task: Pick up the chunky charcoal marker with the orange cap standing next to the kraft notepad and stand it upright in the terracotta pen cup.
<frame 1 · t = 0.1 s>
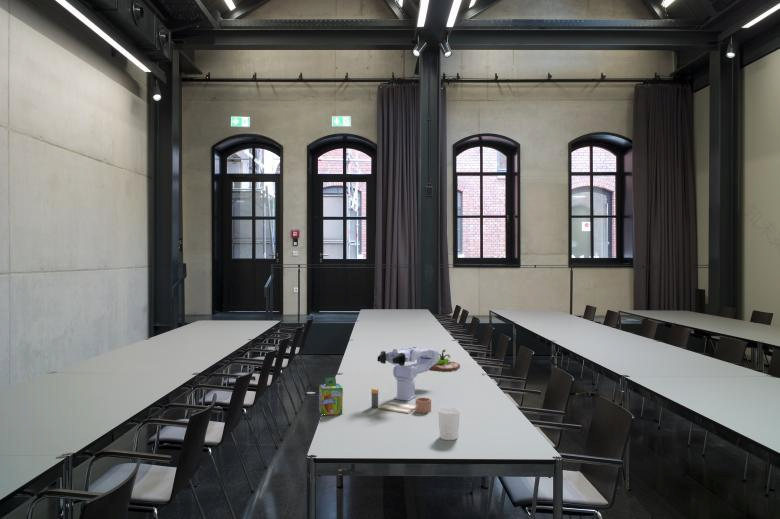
hand: (385, 359, 242), 22 cm above the table, tool horizontal, fingers open, 7 cm apart
white cup: (448, 438, 204), on the table
marker: (374, 407, 244), on the table
notepad: (398, 407, 243), on the table
plant: (443, 368, 330), on the table
chalk box: (330, 412, 236), on the table
pen cup: (423, 410, 238), on the table
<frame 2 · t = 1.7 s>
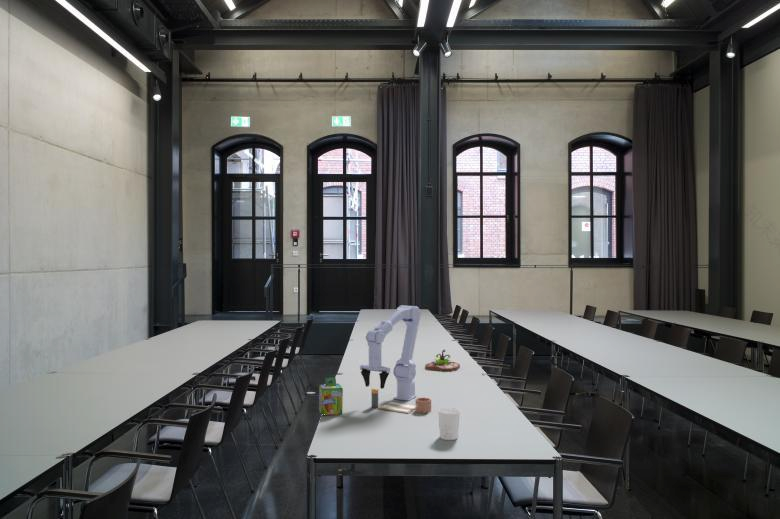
hand: (374, 387, 244), 9 cm above the table, tool pointing down, fingers open, 7 cm apart
nothing on the table moved.
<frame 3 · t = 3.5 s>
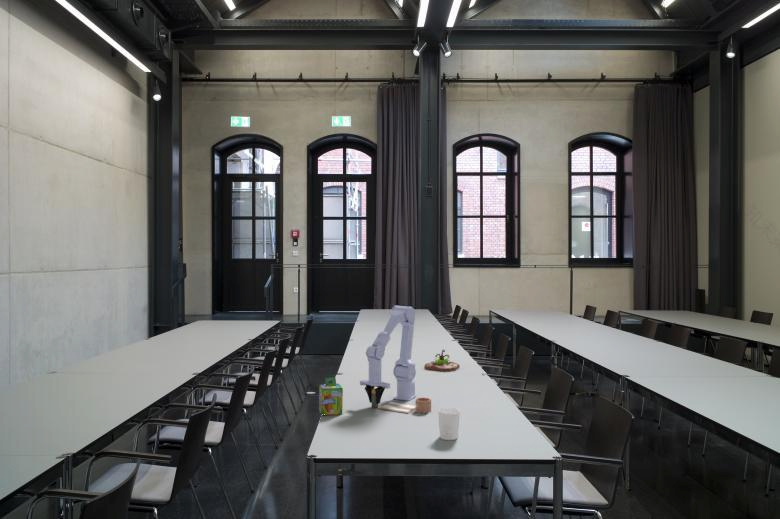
hand: (374, 402, 244), 2 cm above the table, tool pointing down, fingers closed on marker, 3 cm apart
marker: (374, 407, 244), on the table, touching gripper
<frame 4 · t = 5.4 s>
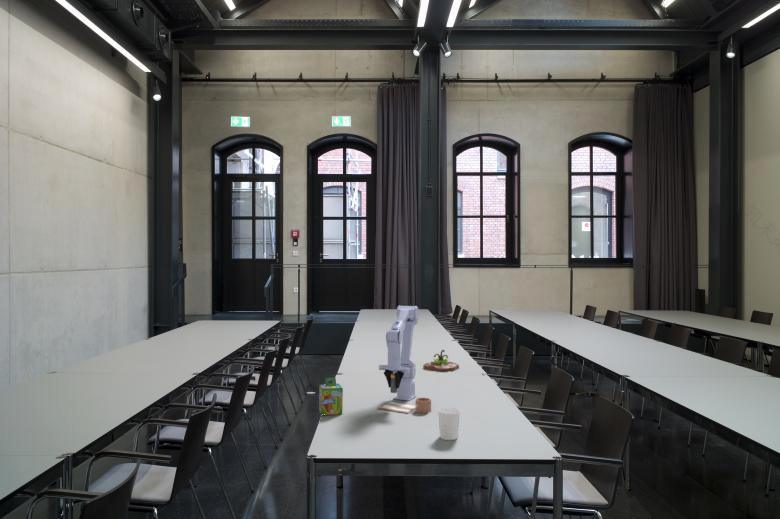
hand: (394, 387, 242), 9 cm above the table, tool pointing down, fingers closed on marker, 3 cm apart
marker: (393, 392, 242), point 7 cm above the table, touching gripper
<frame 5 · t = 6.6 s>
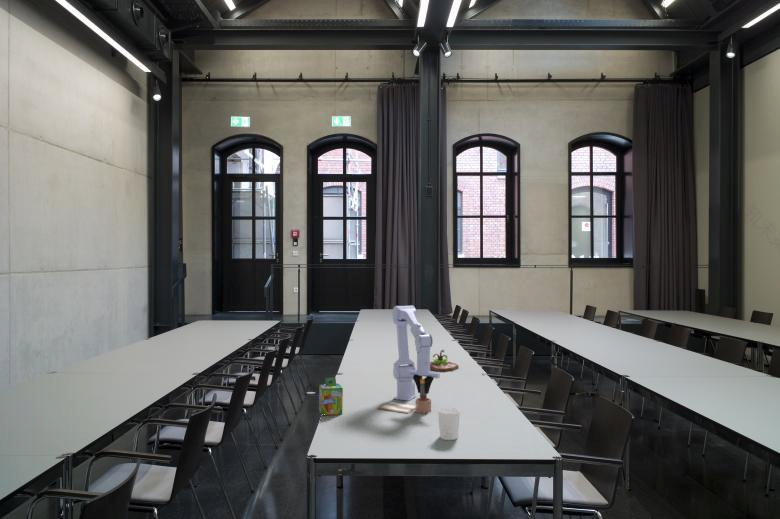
hand: (423, 392, 238), 8 cm above the table, tool pointing down, fingers closed on marker, 3 cm apart
marker: (423, 397, 238), point 6 cm above the table, touching gripper
when the fingers open (8 cm above the table, at t = 7.3 s): marker drops 5 cm, resting on pen cup.
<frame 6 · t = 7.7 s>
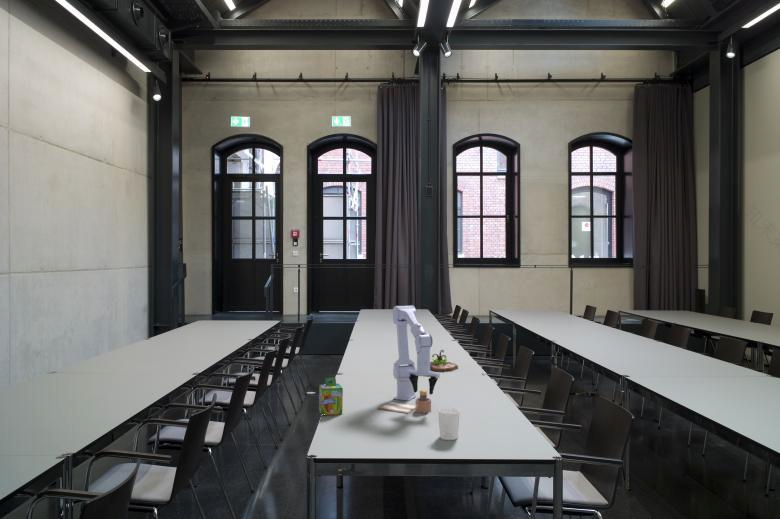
hand: (423, 392, 238), 8 cm above the table, tool pointing down, fingers open, 7 cm apart
marker: (423, 409, 238), point 1 cm above the table, touching pen cup
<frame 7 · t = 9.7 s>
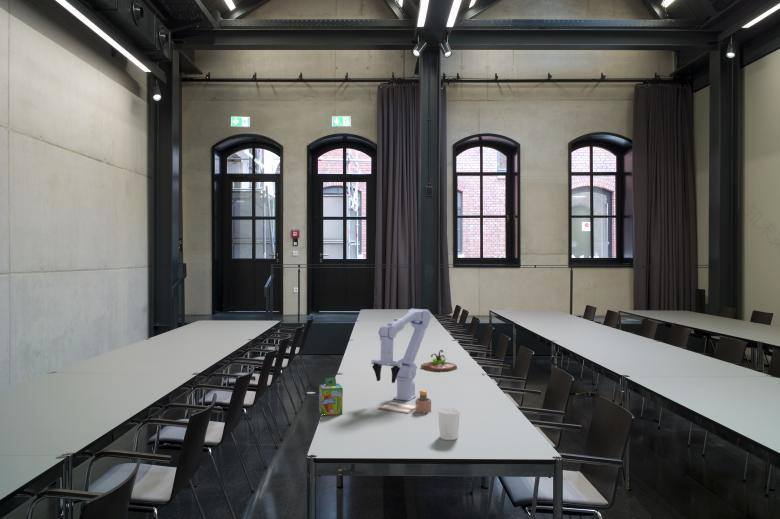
hand: (385, 381, 248), 10 cm above the table, tool pointing down, fingers open, 7 cm apart
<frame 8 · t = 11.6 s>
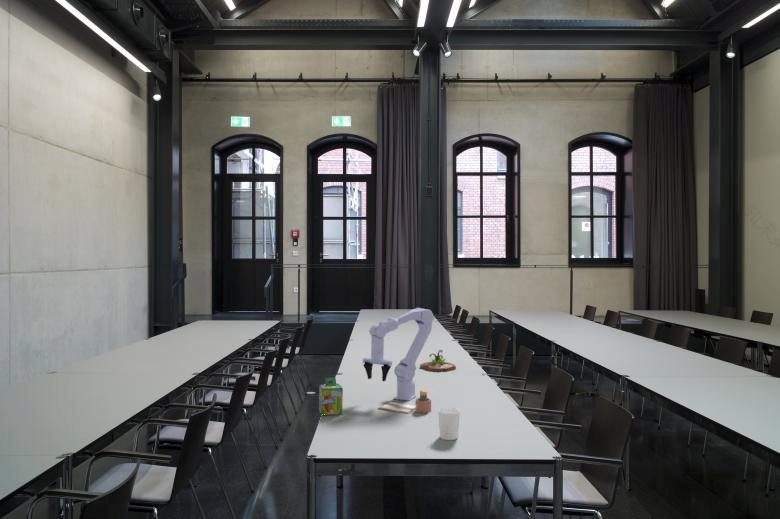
hand: (376, 379, 252), 10 cm above the table, tool pointing down, fingers open, 7 cm apart
at the end: marker 0.1 cm off-centre on the pen cup, point 0.6 cm above the pen cup's base; marker tilted 1°; the gripper is holding nothing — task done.
